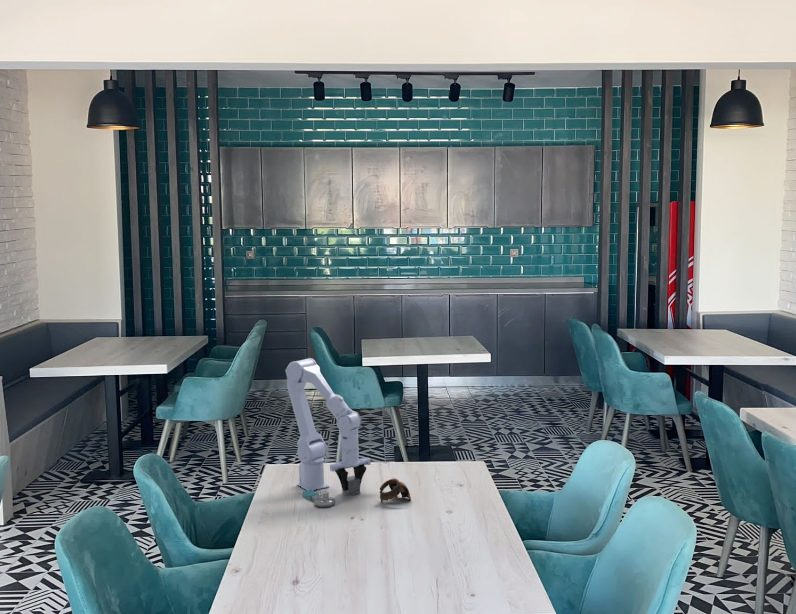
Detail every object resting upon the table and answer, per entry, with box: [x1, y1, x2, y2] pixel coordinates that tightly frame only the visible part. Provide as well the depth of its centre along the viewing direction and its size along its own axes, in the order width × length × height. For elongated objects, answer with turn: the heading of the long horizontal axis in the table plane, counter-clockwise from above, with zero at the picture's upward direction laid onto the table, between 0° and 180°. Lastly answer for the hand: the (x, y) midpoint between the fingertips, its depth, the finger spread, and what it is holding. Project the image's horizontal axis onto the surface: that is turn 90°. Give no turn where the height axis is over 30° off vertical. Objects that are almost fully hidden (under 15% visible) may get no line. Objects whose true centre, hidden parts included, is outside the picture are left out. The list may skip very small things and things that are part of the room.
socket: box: [341, 475, 361, 496], centre depth 280 cm, size 4×4×5 cm
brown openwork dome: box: [378, 478, 412, 503], centre depth 271 cm, size 12×10×8 cm
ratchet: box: [302, 489, 336, 509], centre depth 273 cm, size 16×6×4 cm, turn 32°
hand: (351, 488), depth 280 cm, fingers closed on socket, 4 cm apart
